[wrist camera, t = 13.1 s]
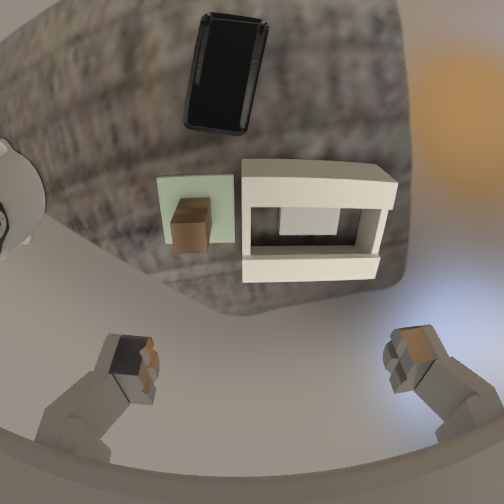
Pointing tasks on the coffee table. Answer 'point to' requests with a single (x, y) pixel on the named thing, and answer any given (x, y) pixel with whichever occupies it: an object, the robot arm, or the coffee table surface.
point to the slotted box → (314, 217)
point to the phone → (224, 73)
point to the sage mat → (200, 187)
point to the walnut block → (191, 225)
